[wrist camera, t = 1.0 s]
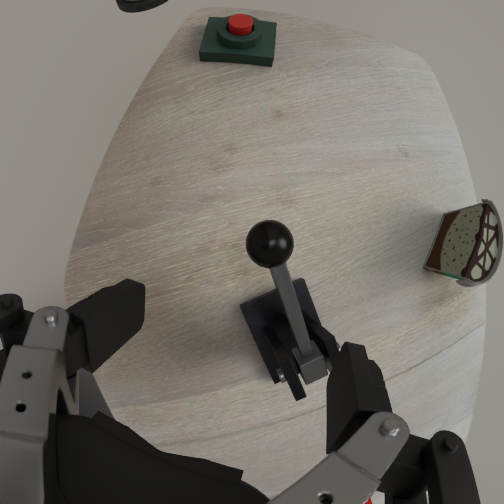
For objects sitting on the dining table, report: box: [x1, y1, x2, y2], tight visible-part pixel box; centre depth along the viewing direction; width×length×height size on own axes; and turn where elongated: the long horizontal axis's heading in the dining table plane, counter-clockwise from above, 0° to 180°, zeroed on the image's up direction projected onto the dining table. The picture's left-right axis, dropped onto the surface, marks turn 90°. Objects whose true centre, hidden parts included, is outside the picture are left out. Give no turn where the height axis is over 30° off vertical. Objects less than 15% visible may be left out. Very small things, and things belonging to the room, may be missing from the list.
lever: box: [246, 220, 328, 385], centre depth 21 cm, size 15×3×3 cm, turn 22°
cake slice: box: [423, 199, 503, 287], centre depth 30 cm, size 12×6×10 cm, turn 149°
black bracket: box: [240, 278, 341, 401], centre depth 27 cm, size 11×8×12 cm
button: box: [228, 14, 253, 36], centre depth 28 cm, size 3×3×2 cm
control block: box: [199, 15, 277, 67], centre depth 30 cm, size 10×8×4 cm
